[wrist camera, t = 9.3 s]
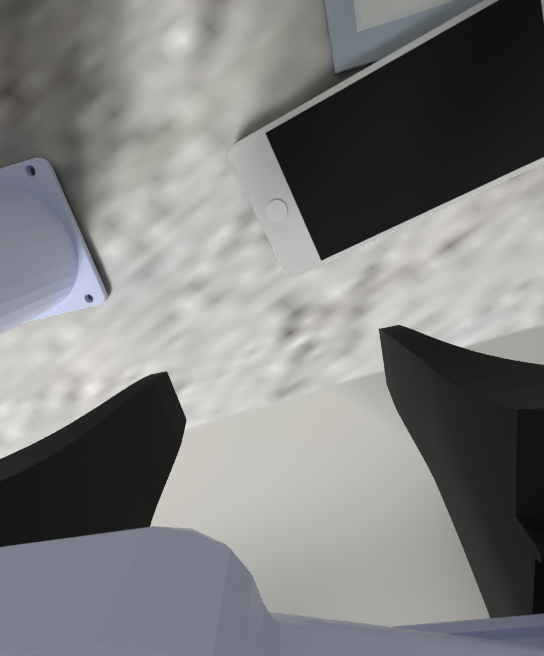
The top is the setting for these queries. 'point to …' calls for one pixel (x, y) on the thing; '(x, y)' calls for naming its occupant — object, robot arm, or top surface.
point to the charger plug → (389, 10)
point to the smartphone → (401, 136)
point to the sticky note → (380, 32)
